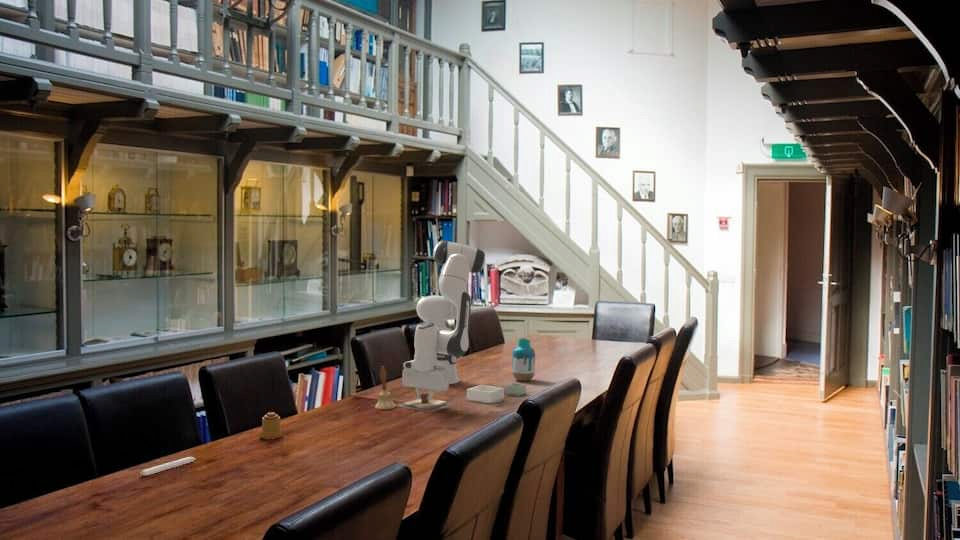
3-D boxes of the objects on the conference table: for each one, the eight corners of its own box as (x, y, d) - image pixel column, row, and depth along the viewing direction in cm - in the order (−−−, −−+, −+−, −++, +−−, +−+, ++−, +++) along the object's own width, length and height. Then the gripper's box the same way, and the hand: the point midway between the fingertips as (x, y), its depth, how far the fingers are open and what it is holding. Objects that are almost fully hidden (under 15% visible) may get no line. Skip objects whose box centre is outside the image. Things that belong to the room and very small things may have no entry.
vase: (535, 383, 365) (536, 341, 364) (511, 382, 365) (512, 340, 364) (534, 378, 376) (535, 337, 374) (511, 378, 376) (512, 337, 375)
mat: (394, 406, 314) (394, 405, 314) (418, 399, 327) (418, 398, 327) (432, 413, 304) (432, 411, 304) (455, 405, 318) (455, 404, 318)
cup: (506, 394, 339) (506, 385, 339) (513, 392, 344) (513, 383, 344) (518, 396, 336) (518, 387, 336) (525, 394, 341) (525, 384, 341)
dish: (466, 401, 325) (466, 389, 325) (481, 396, 335) (481, 384, 334) (489, 405, 320) (490, 392, 319) (504, 400, 329) (504, 387, 329)
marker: (193, 461, 240) (193, 453, 240) (198, 462, 239) (198, 454, 239) (140, 477, 225) (140, 469, 225) (145, 478, 224) (145, 470, 224)
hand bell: (392, 409, 308) (390, 368, 306) (371, 409, 309) (369, 368, 308) (399, 404, 316) (396, 364, 314) (378, 404, 317) (376, 364, 316)
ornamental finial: (283, 439, 265) (259, 440, 263) (282, 433, 273) (259, 434, 271) (283, 415, 265) (259, 416, 263) (282, 410, 272) (259, 411, 270)
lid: (403, 405, 314) (403, 394, 314) (421, 399, 324) (421, 389, 324) (428, 409, 308) (428, 398, 308) (446, 403, 318) (446, 393, 318)
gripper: (452, 366, 312) (451, 401, 313) (409, 360, 323) (409, 394, 324) (442, 368, 307) (442, 404, 308) (399, 362, 318) (399, 397, 319)
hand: (425, 399), depth 316 cm, fingers closed on lid, 3 cm apart
